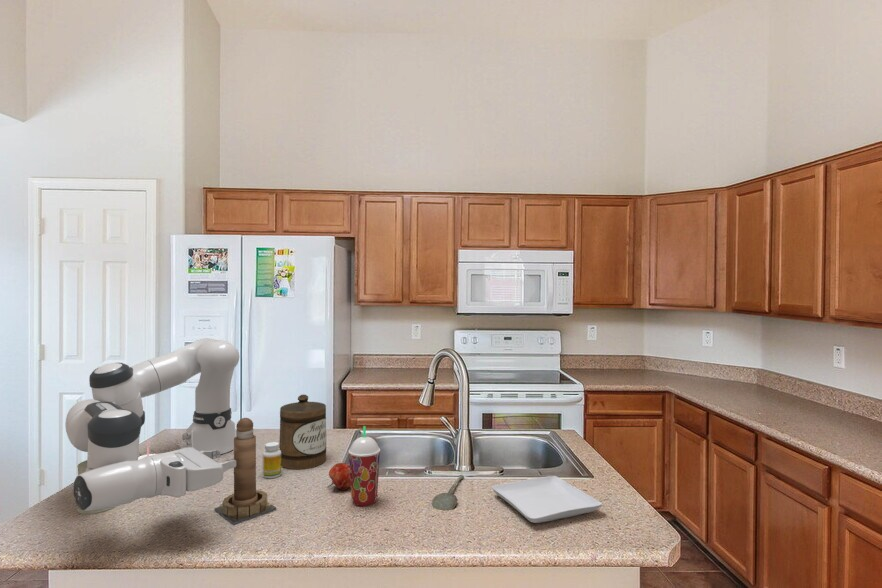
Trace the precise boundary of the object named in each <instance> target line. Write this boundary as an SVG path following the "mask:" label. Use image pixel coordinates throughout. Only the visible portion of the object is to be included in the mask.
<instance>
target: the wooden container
mask: <svg viewBox="0 0 882 588" xmlns="http://www.w3.org/2000/svg"><path fill="white" fill-rule="evenodd" d="M297 400H298V401H296V402H291V403H287V404H284V405H282V406H280V408H279V442H278V443H279V448H278V449H279V450H280V451H281V468H284V469H289V470H307V469H312V468H315V467H318V466H320V465H322V464H324V463H325V462H326V460H327V406H326V404H325V403H323V402H318V401H309V396H308V395H307V394H300V395H299V396H297ZM306 468H307V469H306Z"/></svg>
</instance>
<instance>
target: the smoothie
mask: <svg viewBox="0 0 882 588" xmlns="http://www.w3.org/2000/svg"><path fill="white" fill-rule="evenodd" d="M362 427H363V428H362V431H363V432H362V436H360V437H359V436H358V438H356V439H355V440H354V441H352V444H351V446H350V448H349V449H348V461H349V462H348V463H349V464H348V465H349V466H350V482H351V486H350V495H351V496H350V497H351V500H352V502H353V504H354V505H356V506H360V507H366V506H370V505H372V504H374V503H375V502H376V499H377V498H378V490H379V473H380V472H379V471H380V455H381V448H380V447H379V445H378V443H377V441H376V440H375V439H374V438H373V437H370V436H366V435H367V434H366V433H367V432H366V430H367V429H366V426H365V425H363V426H362Z"/></svg>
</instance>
